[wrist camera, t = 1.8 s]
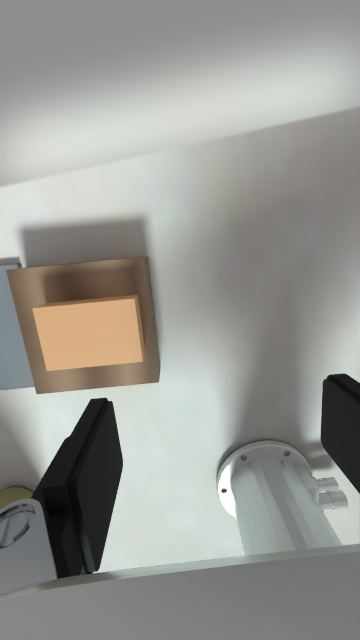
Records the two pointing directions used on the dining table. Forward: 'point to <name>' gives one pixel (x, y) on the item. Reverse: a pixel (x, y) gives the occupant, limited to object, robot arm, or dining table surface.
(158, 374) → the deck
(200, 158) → the dining table surface
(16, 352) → the mat
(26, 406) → the dining table surface
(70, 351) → the tile
